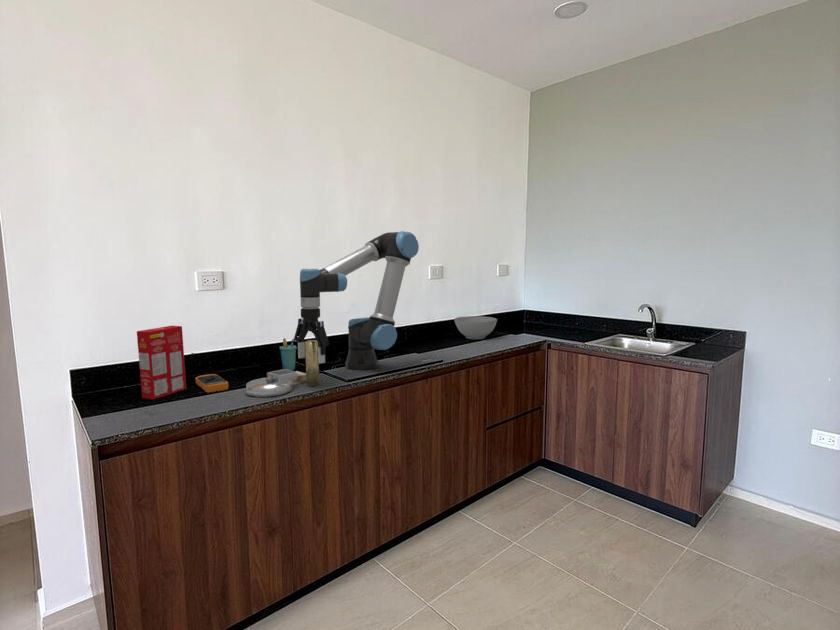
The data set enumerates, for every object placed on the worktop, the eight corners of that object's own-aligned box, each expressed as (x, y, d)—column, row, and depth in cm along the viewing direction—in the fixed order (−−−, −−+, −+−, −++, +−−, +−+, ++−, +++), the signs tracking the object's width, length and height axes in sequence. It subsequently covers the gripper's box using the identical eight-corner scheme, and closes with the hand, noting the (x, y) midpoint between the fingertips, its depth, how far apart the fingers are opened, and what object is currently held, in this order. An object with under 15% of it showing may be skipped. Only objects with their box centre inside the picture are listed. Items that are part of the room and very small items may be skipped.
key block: (297, 377, 196) (297, 371, 196) (308, 381, 191) (308, 374, 191) (280, 381, 191) (280, 374, 190) (291, 385, 185) (291, 378, 185)
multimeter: (216, 380, 194) (216, 372, 193) (229, 390, 180) (229, 381, 179) (194, 384, 188) (193, 376, 188) (206, 394, 175) (205, 385, 174)
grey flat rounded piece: (280, 381, 190) (279, 367, 189) (303, 388, 179) (303, 373, 178) (238, 390, 177) (237, 375, 176) (261, 399, 166) (260, 383, 165)
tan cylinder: (314, 382, 189) (313, 339, 187) (321, 384, 186) (320, 341, 184) (304, 385, 186) (302, 341, 183) (311, 387, 182) (310, 342, 180)
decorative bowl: (474, 332, 310) (474, 315, 309) (505, 338, 290) (505, 319, 289) (445, 337, 293) (445, 318, 292) (476, 343, 273) (476, 323, 271)
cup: (306, 370, 209) (304, 338, 207) (291, 373, 203) (289, 340, 201) (289, 365, 218) (287, 334, 216) (274, 368, 213) (272, 336, 211)
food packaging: (176, 387, 183) (171, 325, 179) (186, 388, 181) (181, 326, 178) (142, 398, 169) (136, 331, 166) (152, 399, 167) (147, 332, 164)
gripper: (284, 306, 187) (285, 357, 190) (321, 310, 171) (322, 366, 173) (300, 304, 193) (301, 354, 195) (337, 309, 176) (338, 363, 179)
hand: (311, 360), depth 184 cm, fingers open, 13 cm apart
